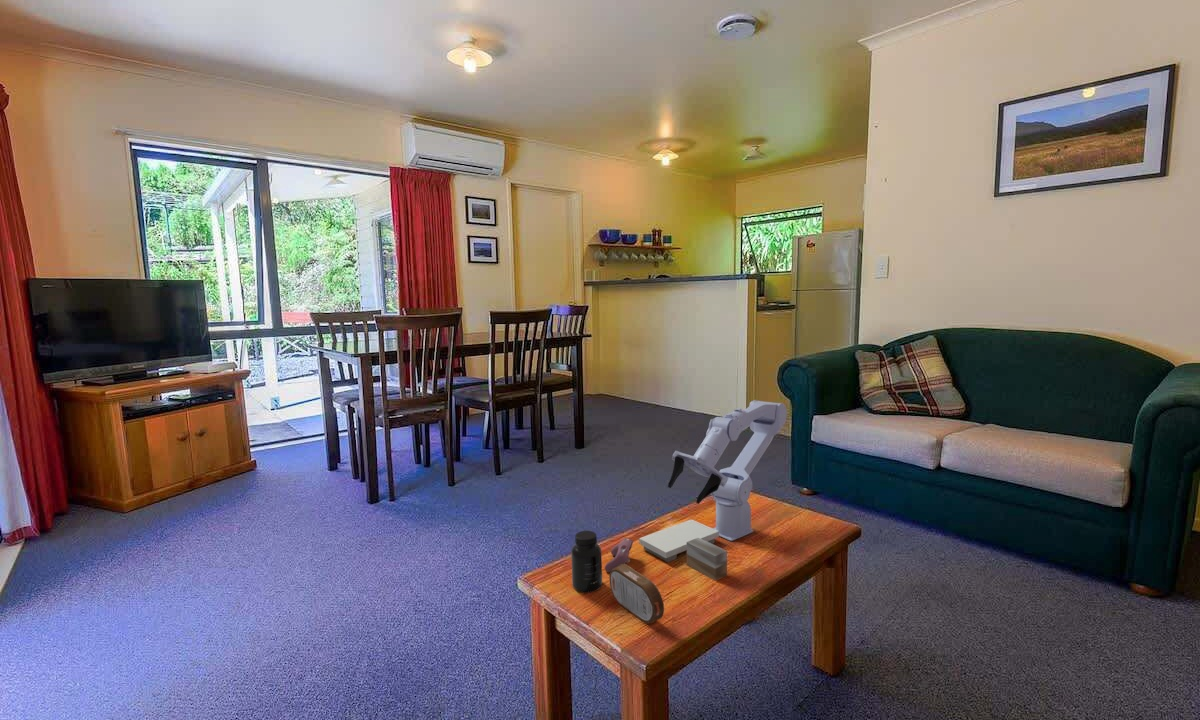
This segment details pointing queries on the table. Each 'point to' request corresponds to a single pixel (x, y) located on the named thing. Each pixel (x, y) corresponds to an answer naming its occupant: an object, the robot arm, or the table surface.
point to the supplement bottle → (586, 562)
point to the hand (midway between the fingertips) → (683, 493)
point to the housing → (707, 558)
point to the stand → (676, 539)
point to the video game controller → (619, 554)
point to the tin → (636, 593)
